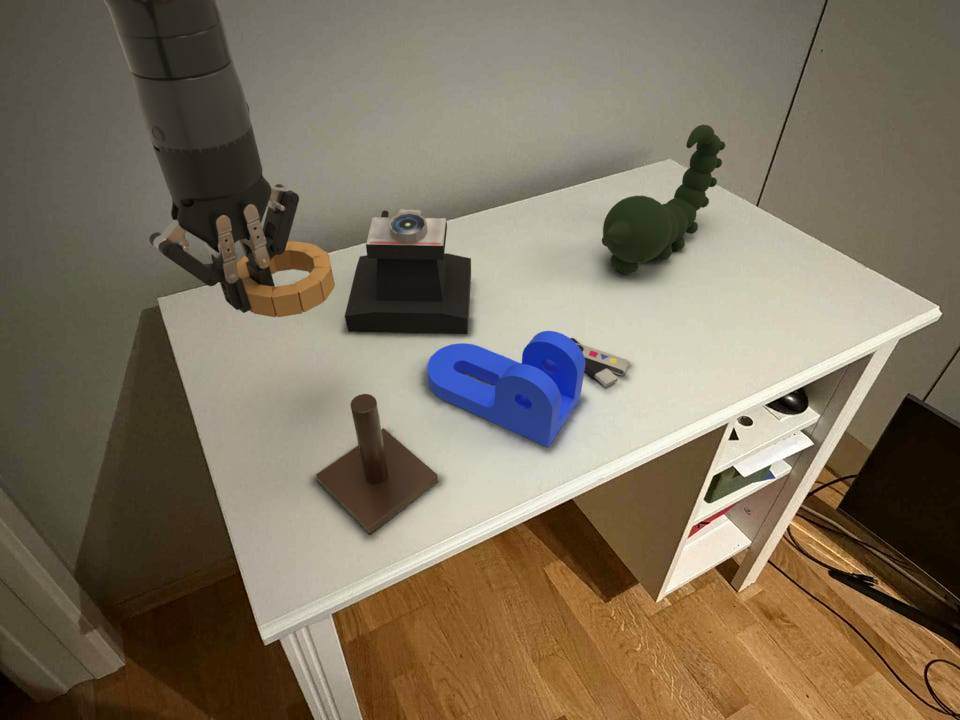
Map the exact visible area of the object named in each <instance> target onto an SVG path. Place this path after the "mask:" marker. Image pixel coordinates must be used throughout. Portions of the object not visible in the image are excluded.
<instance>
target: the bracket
mask: <svg viewBox="0 0 960 720" xmlns="http://www.w3.org/2000/svg"><path fill="white" fill-rule="evenodd" d="M570 338H571V337H569V336H567V335H565V334H563V333H561V332H558V331H553V330H543V331H540V332H538V333H537V334H535V335H534V336H533V337H532V339H531V340H530V341H529V342H528V343H527V344H526V346H525V347H524V349H523V351H522V354H521V362H518V361H516V360H513V359H511V358H509V357H506V356H505V355H501V354H500V353H499V354H498V353H497V352H494V351H492V350H489V349H486V348H485V347H482V346H480V345H477V344H473V343H467V342H463V343H461V342H459V343H453V344H449V345H445V346H443V347H441V348H439V349H437V351H435V352H434V353H433V354H432V355H431V356H430V358H429V360H428V362H427V380H428V381H427V383H428V386H429V389H430V391H432V393H433V394H434V395H435V396H436V397H437V398H439V399H441V400H442V401H445V402H447V403H449V404H452V405H454V406H456V407H458V408H460V409H463V410H464V411H467V412H469V413H471V414H474V415H476V416H478V417H480V418H483V419H485V420H487V421H488V422H491V423H494V424H496V425H497V426H500V427H502V428H505V429H506V430H508V431H511V432H513V433H516V434H518V435H520V436H522V437H524V438H526V439H529V440H531V441H533V442H535V443H537V444H539V445H542V446H544V447H545V448H549V447H550V446H551V444H552V443H553V441H554V440H555V438H556V437H557V435H558V434H559V432H560V431H561V429H562V428H563V426H564V425H565V424H566V422H567V420H568V419H569V417H570V415H571V414H572V413H573V411H574V410H575V408H576V407H577V405H578V404H579V402H580V400H581V396H582V395H581V394H582V390H583V383H584V378H585V377H584V376H585V372H586V371H585V358H584V355H583V353H582V351H581V349H580V348H579V347H578V345H577V344H576V343H575V342H574V341H573V340H571V339H570ZM466 374H467V375H466ZM473 377H474V378H473ZM475 378H476V379H475ZM477 379H478V380H477ZM480 380H481V381H480ZM484 382H485V383H484Z"/></svg>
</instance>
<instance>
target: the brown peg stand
mask: <svg viewBox="0 0 960 720" xmlns="http://www.w3.org/2000/svg"><path fill="white" fill-rule="evenodd" d="M349 406H350V411H351V415H352V420H353V425H354V430H355V435H356V440H357V444H358V445H357V446H355V447H353V448H352V449H350V451H348V452H346V453H345V454H343V455H342V456H341V457H339V458H338V459H336V460H335V461H333V462H332V463H330V464H329V465H328V466H326V467H325V468H323V469H322V470H320V471H319V472H317V473H316V474H315V477H316V481H317V482H318V484H320V486H322V488H324V490H325V491H327V493H328V494H329V495H330V496H332V498H333V499H334V500H335V501H336V502H337V503H338V504H339V505H340V506H341V507H342V508H343V509H344V510H345V511H346V512H347V513H348V514H349V515H350V516H351V517H352V518H353V519H354V520H355V521H356V522H357V523H358V524H359V525H360V526H361V527H362V528H363V529H364V530H365V531H366V533H368V534H369V535H372V534H374V533H375V532H376V531H377V530H378V529H380V528H381V527H382V526H384V525H385V524H386V523H388V521H391V519H393V518H394V517H395V516H396V515H397V514H399V513H400V512H402V510H404V509H405V508H406V507H407V506H409V505H410V504H411V503H413V502H414V501H415V500H417V499H418V498H419V497H420V496H422V495H423V494H425V492H427V491H428V490H429V489H430V488H432V487H433V486H434V485H435V484H437V483H438V482H439V477H438V474H437V473H436V472H435V471H434V470H433V469H432V468H431V467H429V466H428V465H427V464H426V463H425V462H423V460H421V459H420V458H419V457H418V456H417V455H415V454H414V453H413V452H412V451H410V450H409V449H408V448H407V447H406V446H405V445H404V444H403V443H402V442H400V441H399V440H398V439H397V438H396V437H395V436H393V435H392V434H391V433H390V432H389V431H388V430H386V429H385V428H382V426H381V419H380V415H379V408H378V402H377V399H376V397H375V396H374V395H372V394H369V393H361V394H358V395H356V396H355V397H353V398H352V399H351V401H350V405H349Z"/></svg>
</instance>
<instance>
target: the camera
mask: <svg viewBox="0 0 960 720" xmlns="http://www.w3.org/2000/svg"><path fill="white" fill-rule="evenodd" d="M389 214H390V212H389V210H388V211H387V210H385V209H384V210H382V211H381V214H380V215H381V216H372V217H371V221H370V226H369V228H368V229H369V230H368V234H367V238H366V243H365V248H366V255H361V256H359V257H358V261H357V264H356V267H355V271H354V276H353V279H352V283H351V288H350V291H349V296H348V300H347V304H346V309H345V312H344V319H345V325H346V329H347V332H355V333H356V332H358V333H359V332H361V333H362V332H363V333H407V334H408V333H409V334H453V335H454V334H460V335H468V333H469V332H468V331H469V317H470V316H469V315H470V299H471V296H470V295H471V283H472V282H471V281H472V258H471V257H466V256H462V255H458V254H457V255H456V254H452V253H447V252H446V253H445V251H446V241H447V234H448V233H447V231H448V222H447V218H445V217H444V218H443V217H441V218H440V217H425V216H424V215H423V211H422V209H397V214H395V215H394V216H391V217H389Z"/></svg>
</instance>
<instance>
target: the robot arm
mask: <svg viewBox="0 0 960 720" xmlns="http://www.w3.org/2000/svg"><path fill="white" fill-rule="evenodd" d="M102 1H103V2H104V4H105V5H106V8H107V9H108V10H107V11H108V12H109V14H110V18H111V20H112V23H113V27H114V29H115V32H116V35H117V37H118V41H119V43H120V46H121V49H122V52H123V55H124V57H125V60H126V61H125V62H126V63H127V67H128V69H129V71H130V76H131V78H132V82H133V83H132V84H133V87H134V93H135V98H136V101H137V104H138V109H139V112H140V114H141V117H142V120H143V122H144V125H145V128H146V131H147V134H148V136H149V140H150V142H151V145H152V148H153V150H154V153H155V156H156V159H157V161H158V164H159V167H160V170H161V173H162V176H163V178H164V181H165V184H166V187H167V189H168V193H169V195H170V197H171V209H170V216H171V219H172V221H171V222H170V223H169V224H168V225H167V226H166V227H165V229H164V230H163V231H162V232H159V231H158V232H156V231H155V232H152V234H150V236H149V237H148V238H149V239H148V241H149V244H150V245H151V246H152V247H154V248H155V249H156V250H157V251H158V252H159V253H161V254H162V255H163V256H165V257H166V258H167V259H169V260H170V261H171V262H173V263H175V264H176V265H177V266H179V267H180V268H182V269H183V270H185V271H186V272H188V273H189V274H191V275H192V276H194V277H195V278H196V279H198V280H199V281H201V282H202V283H204V284H205V285H206V286H208V287H214V286H217V284H218V283H219V284H220V287H221V290H222V293H223V296H224V299H225V302H226V303H228V304H229V305H230V307H232V308H234V309H235V310H236V311H238V310H239V311H240V312H241V313H243V314H246V313H247V312H250V311H249V310H251V306H250V303H249V300H248V296H247V293H246V290H245V287H244V283H243V280H242V279H241V278H240V277H239V274H238V270H237V265H236V264H237V261H236V260H237V259H238V255H237V250H236V247H235V244H236V243H237V242H238V241H239V243H240V247H241V248H242V251H243V254H244V255H245V256H246V257H247V258H248V260H249V261H248V262H246V266H247V269H248V273H249V276H250V278H251V279H253V280H254V281H255V282H257V283H258V284H260V285H266V286H273V287H276V286H275V283H274V278H273V274H271V270H270V266H269V265H270V261H271V259H272V258H273V257H274V256H275V255H276V254H277V255H281V254H283V253H284V252H285V249H286V246H287V242H289V237H290V234H291V230H292V227H293V224H294V220H295V216H296V213H297V209H298V206H299V205H298V204H299V202H300V196H299V194H298V193H296V192H294V191H293V190H291V189H290V188H288V187H287V186H285V185H283V184H281V183H278V184H277V183H276V184H275V185H274V186H273V185H271V183H270V182H269V181H268V180H267V179H266V178H265V177H264V175H263V166H262V162H261V157H260V153H259V149H258V146H257V145H258V144H257V140H256V136H255V132H254V128H253V124H252V120H251V116H250V106H249V104H248V101H247V100H246V95H245V92H244V91H245V90H244V88H243V86H242V82H241V80H240V77H239V75H238V71H237V69H236V66H235V64H234V60H233V58H232V57H233V56H232V52H231V48H230V44H229V41H228V35H227V32H226V28H225V24H224V20H223V14H222V11H221V9H220V4H219V1H218V0H102ZM265 213H266V214H265ZM264 215H265V218H264ZM263 218H264V222H263V224H262V221H263ZM262 225H263V226H262ZM186 232H187V233H189V234H191V235H192V236H194V237H195V238H197V239H199V240H201V241H202V242H203V246H204V248H205V250H206V252H207V254H208V257H209V261H210V263H203V262H202V261H201V260H199V259H197V258H196V257H195V256H194V255H192V254H191V253H189V250H190V243H189V241H188V240H187V239H186V237H185V236H186Z"/></svg>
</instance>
